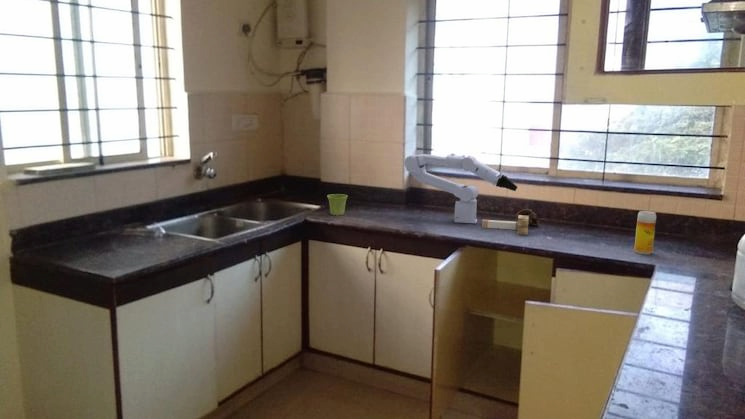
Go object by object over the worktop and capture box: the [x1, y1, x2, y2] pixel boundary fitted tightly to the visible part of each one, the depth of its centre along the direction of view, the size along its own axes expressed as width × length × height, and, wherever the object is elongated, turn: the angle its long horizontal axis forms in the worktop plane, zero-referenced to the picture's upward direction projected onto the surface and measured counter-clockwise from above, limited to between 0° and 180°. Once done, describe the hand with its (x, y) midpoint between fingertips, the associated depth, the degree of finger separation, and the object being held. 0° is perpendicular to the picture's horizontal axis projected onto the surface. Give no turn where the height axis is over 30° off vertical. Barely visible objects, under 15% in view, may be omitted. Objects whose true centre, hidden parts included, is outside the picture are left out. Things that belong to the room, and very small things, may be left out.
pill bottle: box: [633, 210, 657, 255], centre depth 217 cm, size 6×6×15 cm
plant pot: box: [326, 193, 349, 216], centre depth 276 cm, size 9×9×9 cm
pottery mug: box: [515, 208, 540, 227], centre depth 260 cm, size 12×10×8 cm
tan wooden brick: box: [516, 215, 529, 236], centre depth 246 cm, size 4×7×6 cm, turn 166°
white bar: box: [481, 219, 518, 231], centre depth 255 cm, size 15×3×3 cm, turn 77°
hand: (515, 188), depth 255 cm, fingers open, 7 cm apart
